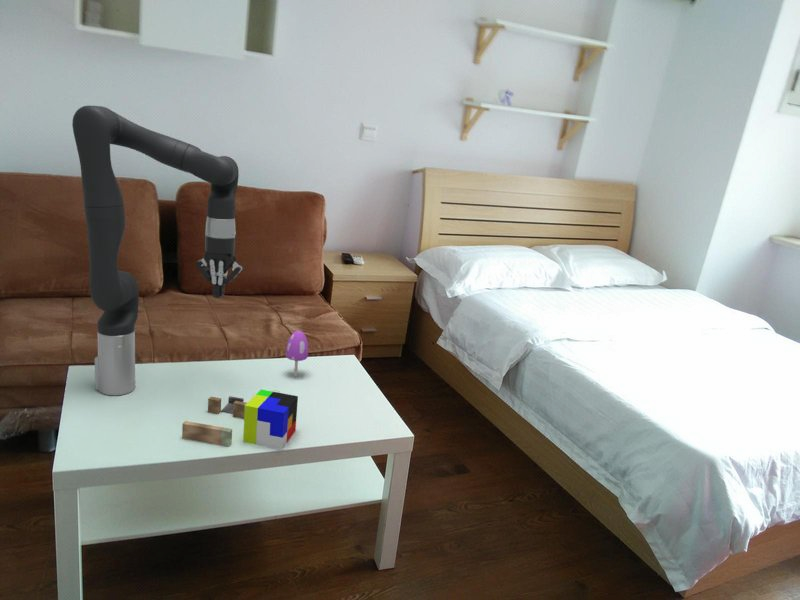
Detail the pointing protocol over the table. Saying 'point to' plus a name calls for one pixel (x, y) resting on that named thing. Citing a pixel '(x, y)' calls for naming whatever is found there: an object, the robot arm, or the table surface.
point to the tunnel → (214, 432)
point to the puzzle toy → (270, 419)
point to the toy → (297, 348)
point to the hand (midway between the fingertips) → (218, 297)
